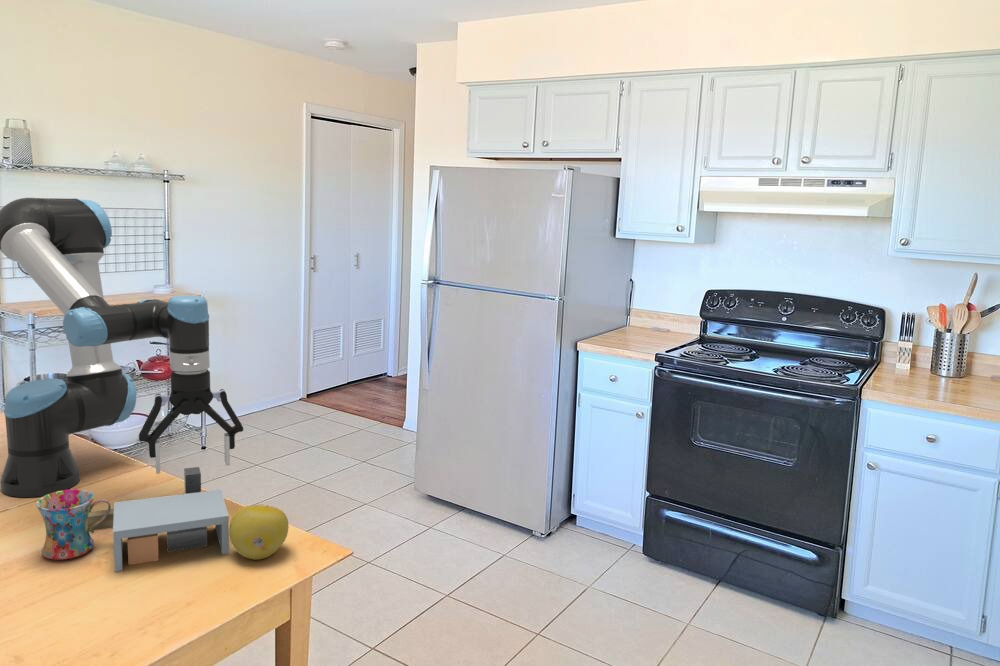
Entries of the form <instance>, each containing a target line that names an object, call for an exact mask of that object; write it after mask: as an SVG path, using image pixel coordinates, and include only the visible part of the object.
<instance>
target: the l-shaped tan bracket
mask: <svg viewBox="0 0 1000 666" xmlns="http://www.w3.org/2000/svg"><path fill="white" fill-rule="evenodd" d="M107 510H108V509H104V510H95V511H94V510H93V511H91V512H90V513H89V514H88V530H89V527H90V526H92V525H93V524H95V523H96V522H98V521H99V520H100V519H101V518H102V517H103V516H104V515H105V513H106V512H107ZM113 519H114V508H111V509H110V511H109V513H108V515H107V516H106V518H105V519H104V520H103V521H102V522H101V523H100V524H98V525H97V526H95V527H94V528H92V529H91V530H93V531H97V530H107V529H111V528H112V529H113Z"/></svg>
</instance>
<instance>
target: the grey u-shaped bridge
mask: <svg viewBox="0 0 1000 666" xmlns="http://www.w3.org/2000/svg"><path fill="white" fill-rule="evenodd" d="M113 509H114V519H113V528H112V537H113V539H112V540H113V556H114V557H113V559H114V562H113V563H114V572H115V573H117V572H122V571H123V552H124V551H123V544H124V543H123V542H124V541H123V539H128V538H129V537H136V536H143V535H150V534H157V533H158V534H163V533H167V532H171V531H178V530H185V529H192V528H199V527H206V528H207V527H212V526H215V531H216V535H217V538H218V542H219V546H220V550H221V554H222V555H228V554H230V541H229V540H230V535H229V527H230V515H229V512H228V508H227V505H226V502H225V499H224V494H223V492H222V489H214V490H207V491H206V490H205V491H201V492H197V493H189V494H185V493H182V494H174V495H167V496H158V497H157V496H156V497H148V498H140V499H132V500H126V501H125V500H123V501H117V502H113Z"/></svg>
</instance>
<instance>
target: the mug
mask: <svg viewBox="0 0 1000 666" xmlns="http://www.w3.org/2000/svg"><path fill="white" fill-rule="evenodd" d="M94 499H95V494H94V492H92V491H90V490H87V489H80V488H79V489H78V488H75V489H74V488H71V489H70V488H69V489H67V490H62V491H57V492H53V493H50V494H48V495H44V496H40V498H38V500H36V502H35V506H36V508H37V510H38V511H39V512H40V514H41V517H42V519H43V522H44V525H45V533H46V534H45V541H44V543H43V547H42V549H41V555H42V556H43V557H44V558H46V559H48V560H49V559H50V560H55V561H57V560H58V561H59V560H61V561H62V560H69V559H75V558H78V557H80V556H83V555H84V554H86V553H88V552H89V551H90V550H92V548H93V547H94V545H95V541H94V539H93V538H92V537H91V534H94V533H95V532H94V531H95V530H91V529H92V528H94V527H95V526H97V525H98V524H100V523H101V522H102V521H103V520H104V519H105V518H106V516H107V515H108V513H109V511H110V509H112V506H111V502H110V501H109V500H108V499H104V498H103V499H97V500H95V501H94ZM99 503H106V504H108V505H107V506H108V508H107V509H106V510H107V512H106V513H105V515H104V516H103V517H102V518H101V519H100V520H99V521H98V522H96V523H95V524H93V525H92V526H90V527H89V530H88V514H89V513H90V512H92V509H93V508H94V506H95V505H97V504H99ZM90 533H91V534H90Z"/></svg>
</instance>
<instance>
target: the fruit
mask: <svg viewBox="0 0 1000 666" xmlns="http://www.w3.org/2000/svg"><path fill="white" fill-rule="evenodd" d="M288 533H289V521H288V518H287V515H286V514H285V512H284V511H283V510H281V509H279V508H278V507H276V506H274V505H267V504H266V505H265V504H262V503H261V504H254V505H247V506H244V507H241V508H240V509H239V510H236V512H235V513H234V514H233V516H232V517H231V519H230V520H229V540H230V542H231V545H232V546H233V548H234V550H235V551H236V552H237V553H239V555H241V556H242V557H244V558H247V559H250V560H254V561H256V560H263V559H266V558H269V557H270V556H272V555H273V554H275V553H276V552H277V551H278V550H279V549H280V548H281V546H282V545H283V544H284V542H285V541H286V539H287V537H288Z"/></svg>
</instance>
